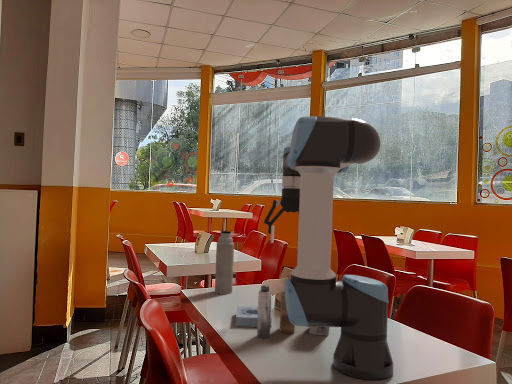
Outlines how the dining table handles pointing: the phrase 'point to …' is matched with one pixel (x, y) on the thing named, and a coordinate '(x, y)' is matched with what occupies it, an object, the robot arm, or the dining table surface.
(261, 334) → the silver slim bottle
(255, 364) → the dining table surface
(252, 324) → the socket block
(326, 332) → the coffee box
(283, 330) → the square bit
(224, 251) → the thermos bottle
